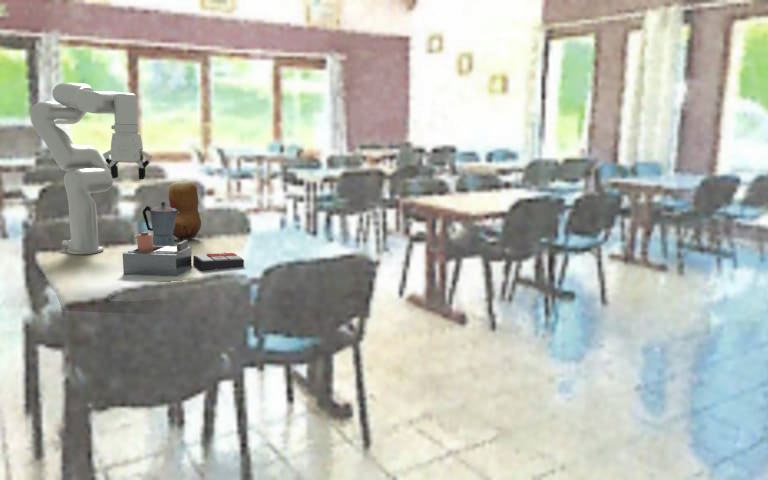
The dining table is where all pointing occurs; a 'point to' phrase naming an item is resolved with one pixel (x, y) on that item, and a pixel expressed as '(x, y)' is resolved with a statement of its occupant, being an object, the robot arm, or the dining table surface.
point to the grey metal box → (156, 262)
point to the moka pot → (161, 224)
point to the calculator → (217, 261)
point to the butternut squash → (185, 209)
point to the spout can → (144, 242)
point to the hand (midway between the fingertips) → (128, 178)
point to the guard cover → (175, 247)
